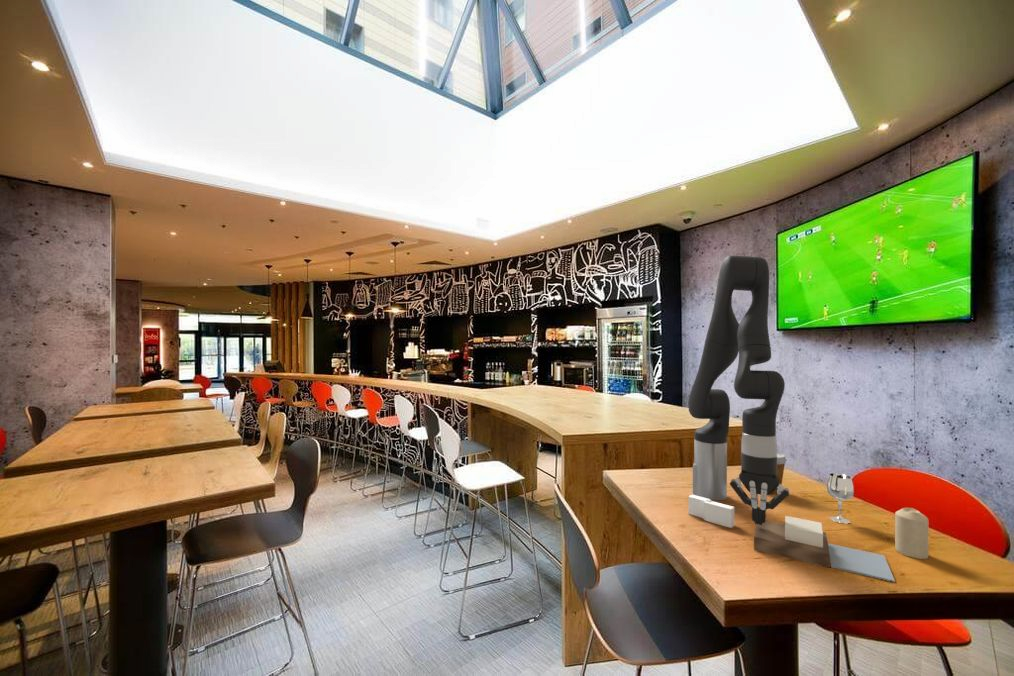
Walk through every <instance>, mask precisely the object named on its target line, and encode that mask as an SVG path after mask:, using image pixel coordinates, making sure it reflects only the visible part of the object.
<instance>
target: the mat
mask: <svg viewBox="0 0 1014 676" xmlns="http://www.w3.org/2000/svg"><path fill="white" fill-rule="evenodd" d="M828 548H829V554H830V567H831V568H833V569H837V570H840V571H845V572H849V573H853V574H856V575H862V576H865V577H869V576H870V577H869V578H873V577H875V578H874V579H877V578H878V580H881V579H883V580H882V581H885V580H887V581H886V582H890V581H893V582H892V583H894V582H895V583H896V580H895V578H894V576H893V574H892V571H891V568H890V566H889V563H888V561H887V559H886V557H885V556H886V555H883V554H879V553H875V552H870V551H865V550H862V549H861V550H860V549H856V548H851V547H847V546H843V545H838V544H834V543H828Z"/></svg>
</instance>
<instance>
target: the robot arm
mask: <svg viewBox="0 0 1014 676" xmlns="http://www.w3.org/2000/svg"><path fill="white" fill-rule="evenodd" d="M734 291H744V292H745V291H747V292H750V293H751V304H750V306H749V307H748V309H747V311H746V313H745V314H744V316H743V317H742V319H741V321H740V322H738V319H737V317H736V315H735V312H734V310H733V305H732V303H733V301H732V298H733V293H734ZM769 296H770V269H769V264H768V261H767V260H766V259H765V258H764V257H761V256H760V257H759V256H745V255H728V256H726V257H725V258H723V261H722V263H721V265H720V268H719V273H718V278H717V285H716V292H715V298H714V305H713V309H712V314H711V318H710V321H709V325H708V329H707V331H706V335H705V340H704V345H703V350H702V355H701V359H700V363H699V366H698V370H697V373H696V376H695V379H694V382H693V384H692V388H691V390H690V394H689V397H688V403H687V404H688V405H687V406H688V408H687V409H688V412H689V414H690V416H691V417H692V418H695V419H699V420H709V421H708V422H707V423H706V424H705V425H703V426H701V427H699V428H696V429H695V430H694V434H693V435H694V437H693V438H694V439H693V440H694V445H693V447H694V448H693V451H694V452H693V453H694V457H693V458H694V459H693V464H692V495H696V496H700V497H704V498H708V499H710V500H711V501H724V500H726V499H727V497H728V495H727V494H728V489H727V488H728V452H727V451H728V441H727V440H728V436H729V431H730V415H731V404H730V403H731V402H730V399H729V396H728V393H727V392H726V391H725V390H723V389H719V388H712V387H713V386H714V383H716V380H718V378H719V377H720V376H721V375H722V374H723V373H724V372H726V371H727V369H728V368H729V367H730V366H731V365H733V363H734V362H735V361H736V359H737V357H738V363H737V369H736V370H737V371H736V374H735V377H734V382H733V389H734V392H735V393H736V395H737V396H738V397H740V398H741V399H745V400H764V401H763V403H762V405H760V406H757V407H750V408H746V409H745V410H743V411H742V429H741V430H742V432H741V433H742V435H741V441H740V447H741V448H740V449H741V451H740V453H741V454H740V456H741V457H740V458H741V459H740V461H741V462H740V463H741V468H740V470H741V471H740V473H739V474H738V477H737V478H735V479H734V478H732V479H731V480H730V483H729V485H730V487H731V488H732V489H733V490H734V492H735V493H736V495H737V496H738V497H739V499H740V500H741V501H742V503H743V504H744V505H747V506H750V507H751V520H752V522H754V523H755V525H756V524H759V525H762V523H765V521H766V520H767V516H766V515H767V510H774V509H775V508H776V507H777V506H778V505H780V504H781V503H782V502H783V501H784V500H785V499H786V498H788V496H789V495H790V490H789V488H788V487H785V486H783V485H781V484H780V481H779V479H778V477H777V452H778V442H777V435H776V434H777V430H776V429H777V427H776V426H777V414H778V411H779V406H780V403H781V400H782V397H783V395H784V392H785V389H786V388H785V386H786V385H785V384H786V383H785V380H784V376H782V374H781V373H779V372H778V371H775V370H754V369H753V370H751V367H752V366H756V365H761V364H765V363H768V362H770V360H771V358H772V351H771V350H772V349H771V341H770V335H769V324H768V321H769V320H768V316H769V314H768V313H769V312H768V311H769V301H770V300H769V298H770V297H769ZM778 453H779V452H778ZM742 485H743V486H744V487H745V489H746V490H747V491H748V492H749V494H750V497H749V496H748V494H747V493H746V492H745V490H744V488H742V487H743V486H742ZM776 488H778V490H777V494H775V496H774V497H773V498H772V499H771V500H769V501H767V498H768V496H770V495H772V494H771V493H772V492H773V491H774V490H775V489H776ZM758 495H760V501H759V498H758Z"/></svg>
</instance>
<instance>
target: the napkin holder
mask: <svg viewBox="0 0 1014 676" xmlns="http://www.w3.org/2000/svg"><path fill="white" fill-rule="evenodd" d="M688 514H689V515H691V516H693V517H697V518H702V519H703V520H704V521H706V522H710V523H713V524H715V525H716V524H717V525H719V526H722V527H727V528H730V529H733V527H734V526H735V506H732V505H728V504H724V503H720V502H717V501H715V500H710V499H708V498H704V497H700V496H696V495H693V494H690V495H689V496H688Z"/></svg>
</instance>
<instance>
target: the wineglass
mask: <svg viewBox="0 0 1014 676" xmlns="http://www.w3.org/2000/svg"><path fill="white" fill-rule="evenodd" d="M826 491H827V493H828V495H830V497H832V498H834V499H835V500H838V501H837V506H838V515H837V516H835V515H834V516H830V517H829V520H830V521H832V520H833V522H835V523H838V524H842V523H844V525H849V524H848V523H850V522H851V521H850V520H849V519H848V518H844V517H843V516H842V506H843V502H842V501H847V500H851V499H852V497H853V496H854V491H855V490H854V483H853V479H852V477H851V476H849V475H847V474H842V473H836V472H832V473H829V474H828V478H827V481H826ZM850 524H851V523H850Z"/></svg>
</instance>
